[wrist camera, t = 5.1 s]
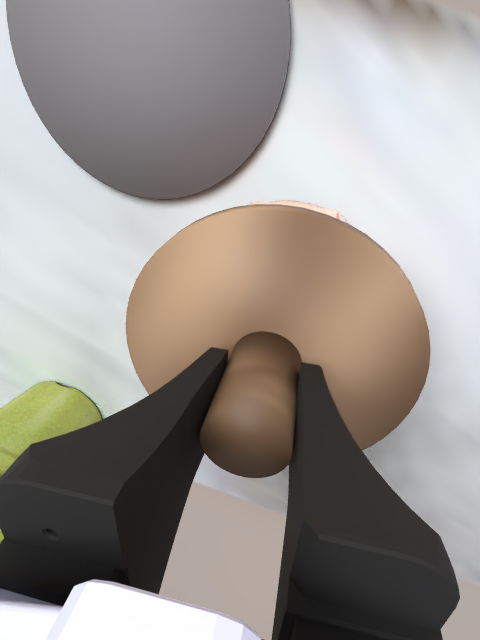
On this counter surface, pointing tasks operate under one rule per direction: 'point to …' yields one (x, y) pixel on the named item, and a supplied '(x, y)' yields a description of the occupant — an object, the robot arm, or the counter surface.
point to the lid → (280, 327)
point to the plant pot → (41, 419)
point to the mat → (153, 84)
